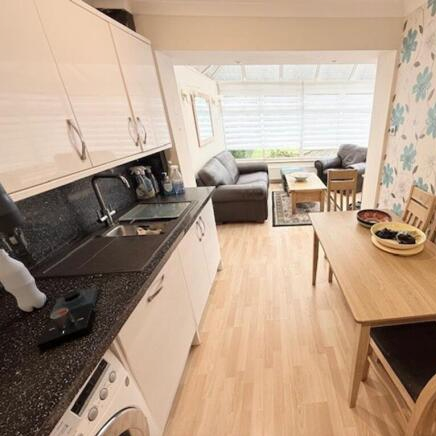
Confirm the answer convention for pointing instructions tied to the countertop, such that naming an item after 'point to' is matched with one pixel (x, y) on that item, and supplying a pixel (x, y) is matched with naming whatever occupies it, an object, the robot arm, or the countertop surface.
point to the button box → (78, 301)
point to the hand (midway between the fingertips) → (29, 261)
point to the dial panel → (67, 330)
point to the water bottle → (20, 283)
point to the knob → (62, 318)
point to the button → (71, 295)
